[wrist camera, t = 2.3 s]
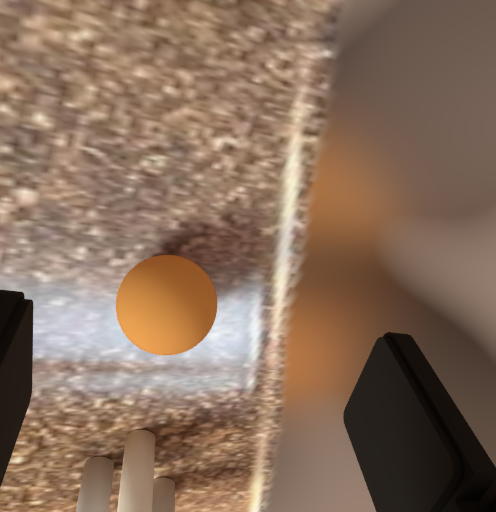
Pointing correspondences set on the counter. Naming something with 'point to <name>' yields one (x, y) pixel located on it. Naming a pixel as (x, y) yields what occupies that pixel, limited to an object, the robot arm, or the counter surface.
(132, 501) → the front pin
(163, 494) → the pin
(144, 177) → the counter surface
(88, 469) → the pin
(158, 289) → the ball
